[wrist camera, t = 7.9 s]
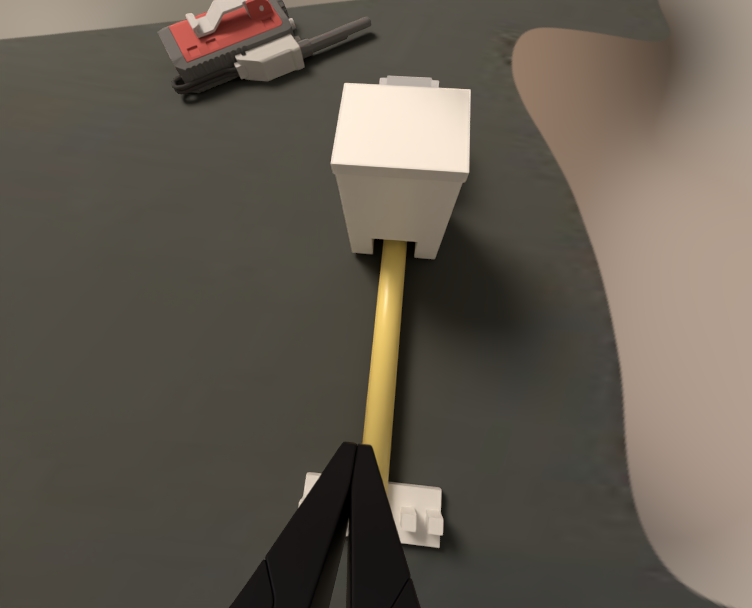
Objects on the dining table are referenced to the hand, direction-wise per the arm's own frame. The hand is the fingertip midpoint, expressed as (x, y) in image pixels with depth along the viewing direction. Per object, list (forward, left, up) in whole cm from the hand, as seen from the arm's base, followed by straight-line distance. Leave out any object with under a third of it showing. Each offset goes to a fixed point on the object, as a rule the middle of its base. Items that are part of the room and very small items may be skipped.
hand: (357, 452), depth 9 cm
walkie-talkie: (+24, -28, -13) cm, 39 cm away
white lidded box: (+4, -14, -13) cm, 19 cm away
